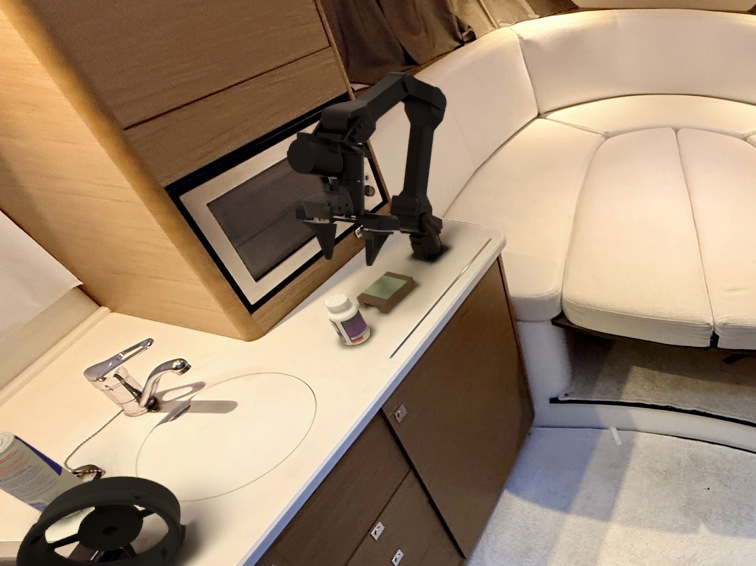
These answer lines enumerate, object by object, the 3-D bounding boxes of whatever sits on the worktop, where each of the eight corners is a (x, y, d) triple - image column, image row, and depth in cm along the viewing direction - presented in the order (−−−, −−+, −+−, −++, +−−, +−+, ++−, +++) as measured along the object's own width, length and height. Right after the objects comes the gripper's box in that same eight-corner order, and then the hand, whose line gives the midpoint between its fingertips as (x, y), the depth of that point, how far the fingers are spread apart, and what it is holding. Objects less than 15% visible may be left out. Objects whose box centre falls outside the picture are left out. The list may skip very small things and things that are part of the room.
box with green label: (391, 279, 117) (387, 270, 116) (416, 285, 116) (412, 276, 114) (360, 306, 111) (355, 297, 109) (387, 313, 109) (382, 304, 107)
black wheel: (78, 447, 67) (59, 488, 60) (208, 475, 77) (205, 513, 69) (13, 542, 66) (-15, 595, 59) (152, 559, 76) (144, 606, 69)
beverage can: (106, 488, 80) (24, 431, 69) (74, 522, 76) (-18, 467, 65) (73, 485, 80) (-13, 428, 70) (40, 519, 76) (-57, 464, 66)
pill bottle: (374, 327, 106) (355, 290, 99) (365, 345, 102) (345, 308, 95) (348, 328, 106) (327, 291, 99) (338, 346, 102) (315, 309, 95)
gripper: (266, 170, 90) (271, 258, 94) (358, 181, 87) (359, 272, 91) (318, 176, 101) (320, 256, 105) (401, 186, 98) (401, 268, 101)
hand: (348, 262), depth 100 cm, fingers open, 9 cm apart
